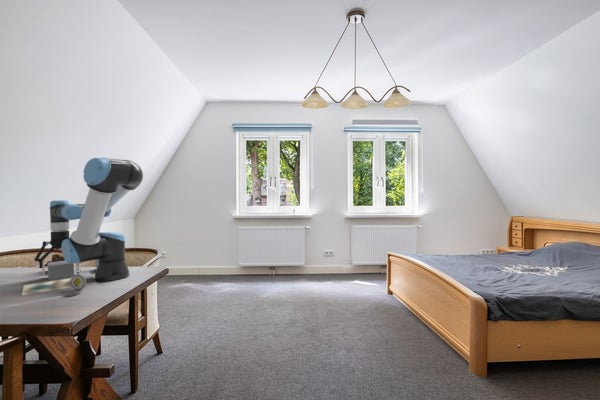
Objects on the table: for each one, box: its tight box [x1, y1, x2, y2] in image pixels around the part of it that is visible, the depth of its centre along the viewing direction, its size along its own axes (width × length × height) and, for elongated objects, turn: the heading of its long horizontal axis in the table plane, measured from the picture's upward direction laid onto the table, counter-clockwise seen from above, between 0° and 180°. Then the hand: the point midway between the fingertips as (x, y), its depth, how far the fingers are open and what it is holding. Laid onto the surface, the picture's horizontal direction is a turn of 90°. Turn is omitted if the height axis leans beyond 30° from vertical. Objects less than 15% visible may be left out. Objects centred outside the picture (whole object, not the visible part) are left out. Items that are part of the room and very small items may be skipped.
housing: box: [47, 260, 75, 281], centre depth 155 cm, size 10×10×8 cm
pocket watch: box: [62, 268, 87, 297], centre depth 131 cm, size 8×8×10 cm
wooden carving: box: [46, 253, 66, 268], centre depth 169 cm, size 16×5×10 cm, turn 68°
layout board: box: [21, 277, 87, 296], centre depth 140 cm, size 22×19×1 cm
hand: (61, 272), depth 155 cm, fingers open, 13 cm apart
